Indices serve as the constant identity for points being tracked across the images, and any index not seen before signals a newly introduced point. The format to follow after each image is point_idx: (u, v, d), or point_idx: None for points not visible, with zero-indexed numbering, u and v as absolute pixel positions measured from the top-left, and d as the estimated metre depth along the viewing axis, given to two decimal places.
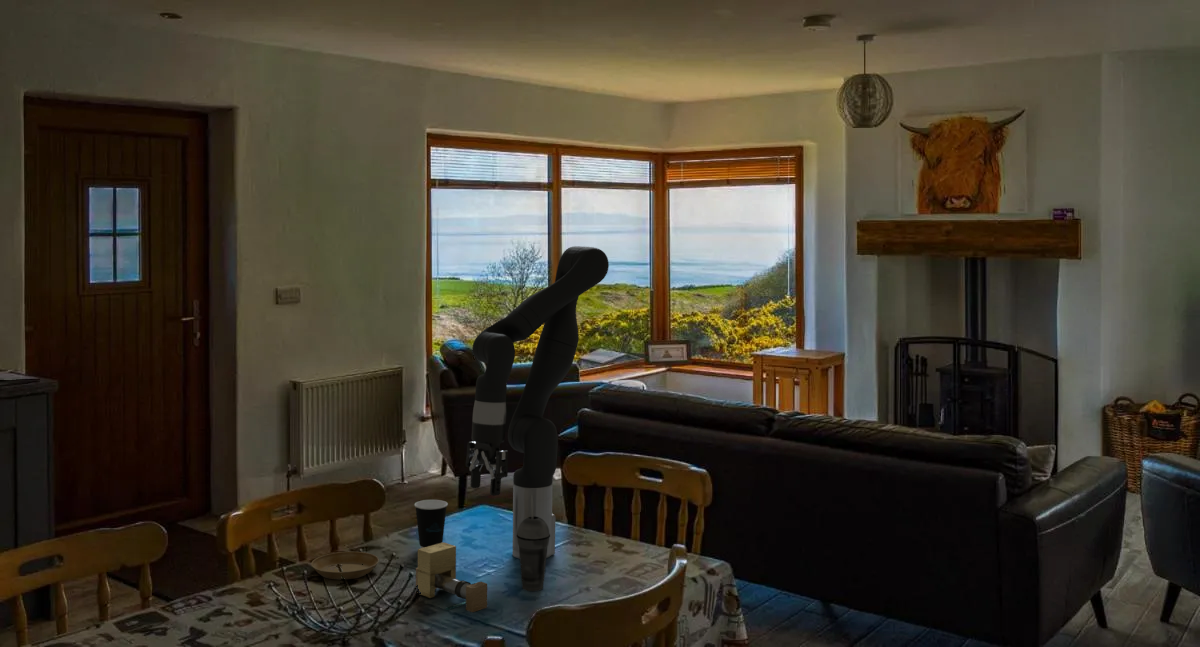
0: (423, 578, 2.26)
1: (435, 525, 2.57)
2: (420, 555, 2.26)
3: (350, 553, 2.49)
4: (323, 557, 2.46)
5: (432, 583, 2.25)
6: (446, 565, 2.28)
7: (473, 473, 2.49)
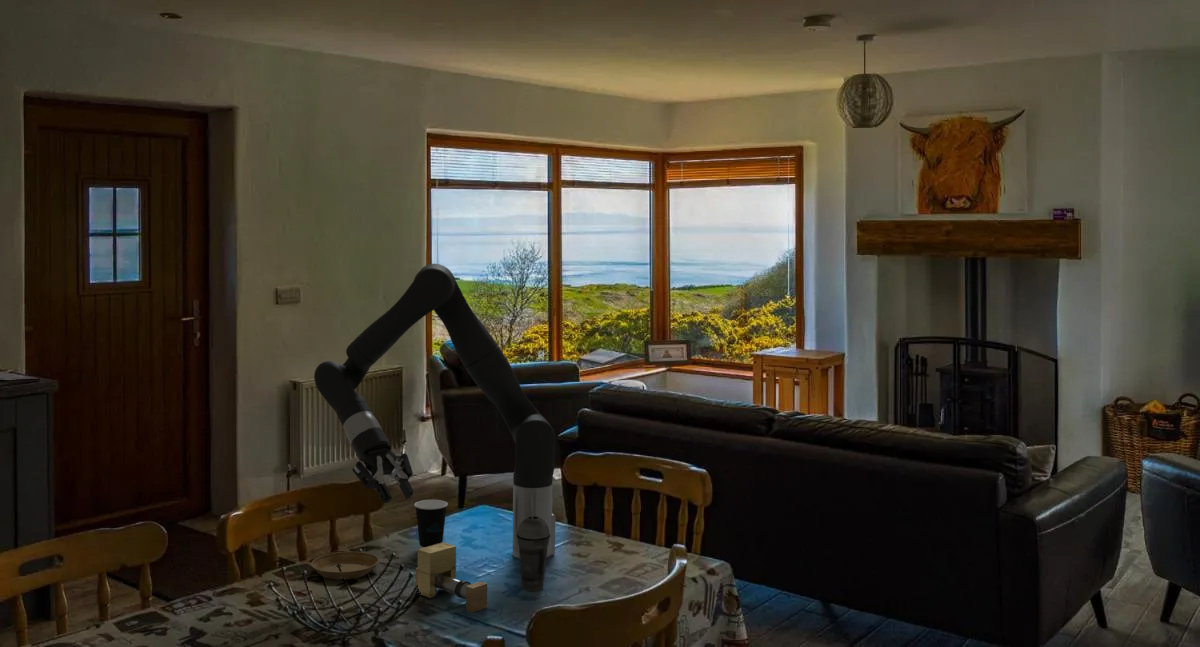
0: (423, 578, 2.26)
1: (435, 525, 2.57)
2: (420, 555, 2.26)
3: (350, 553, 2.49)
4: (323, 557, 2.46)
5: (432, 583, 2.25)
6: (446, 565, 2.28)
7: (400, 486, 2.39)
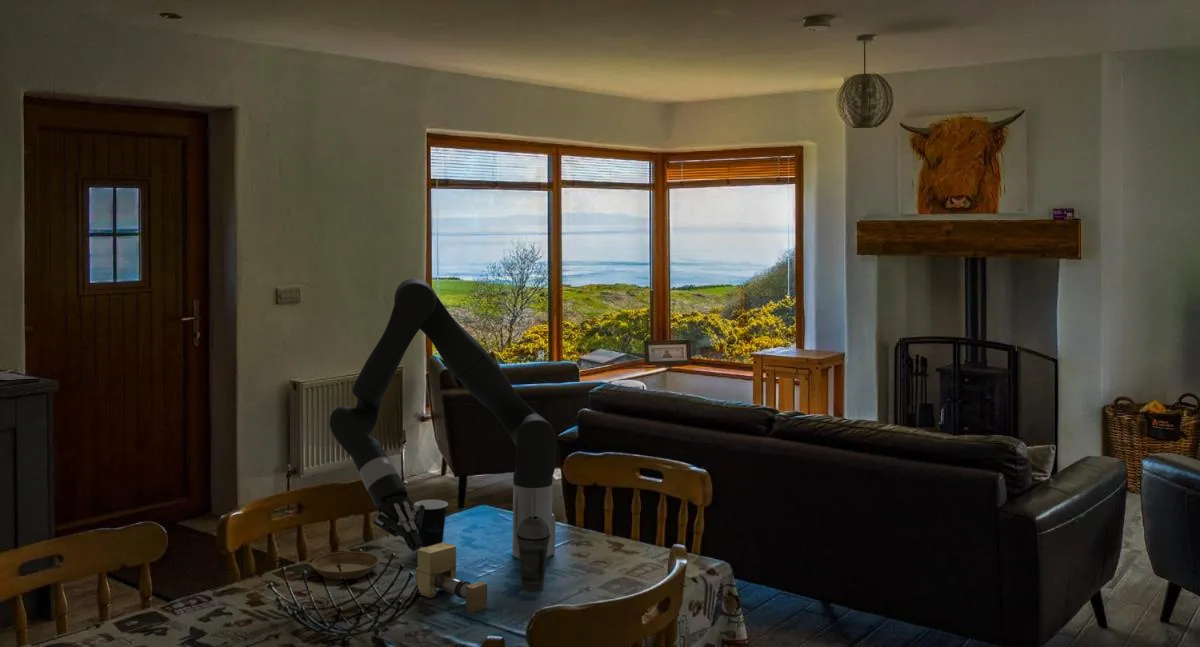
0: (423, 578, 2.26)
1: (435, 525, 2.57)
2: (420, 555, 2.26)
3: (350, 553, 2.49)
4: (323, 557, 2.46)
5: (432, 583, 2.25)
6: (446, 565, 2.28)
7: None
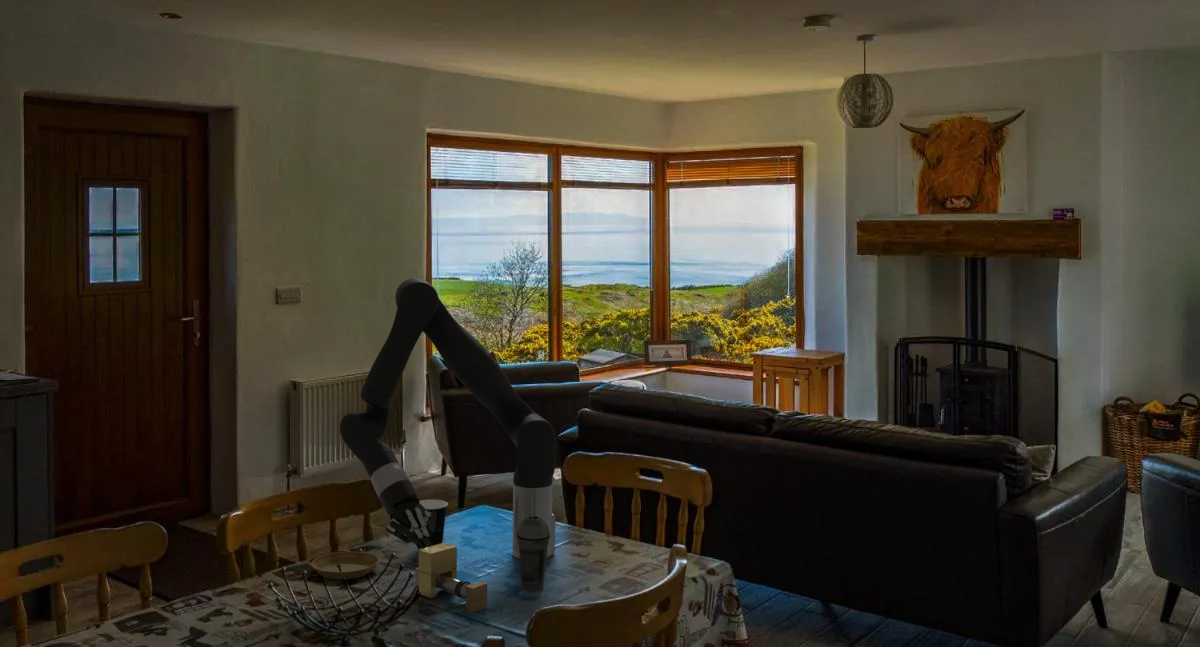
0: (424, 578, 2.26)
1: (435, 525, 2.57)
2: (421, 555, 2.26)
3: (350, 553, 2.49)
4: (323, 557, 2.46)
5: (433, 583, 2.25)
6: (447, 565, 2.27)
7: None
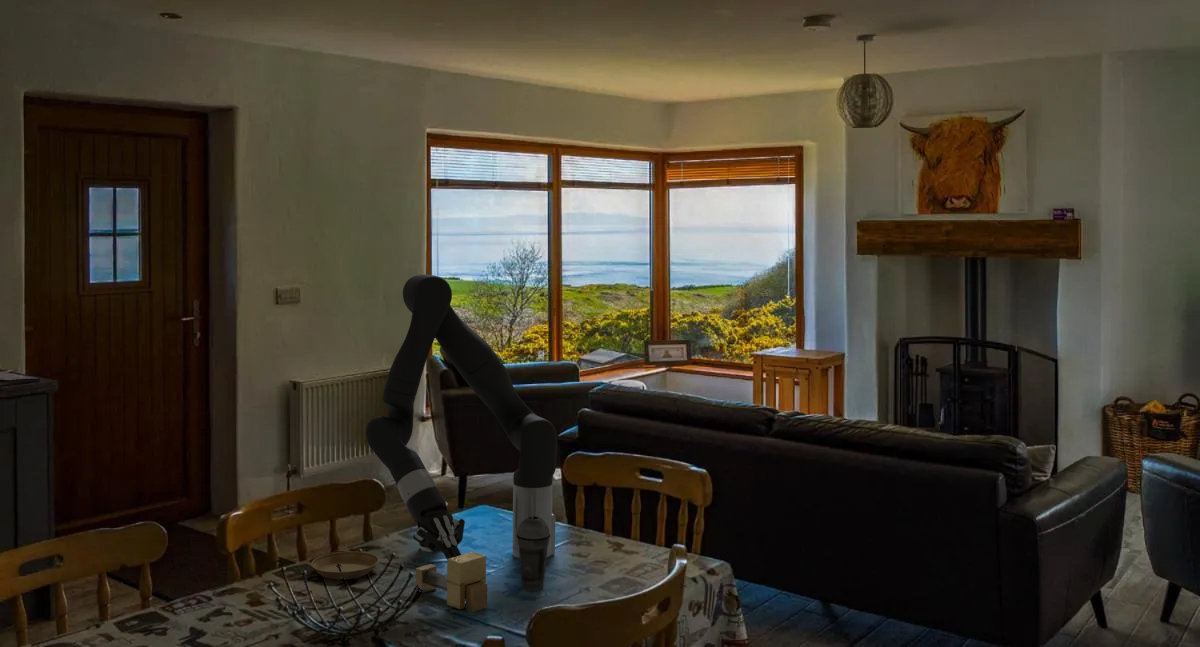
0: (453, 589, 2.20)
1: None
2: (450, 565, 2.20)
3: (350, 553, 2.49)
4: (323, 557, 2.46)
5: (462, 593, 2.19)
6: (476, 575, 2.21)
7: None
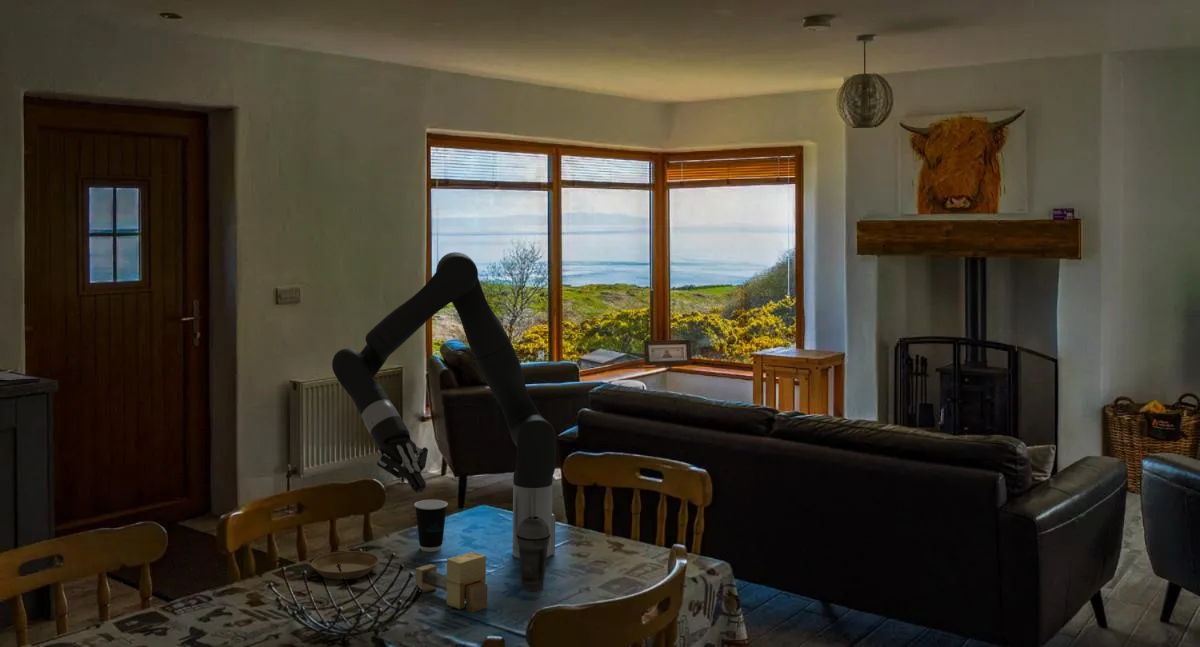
0: (452, 589, 2.20)
1: (435, 525, 2.57)
2: (449, 565, 2.20)
3: (350, 553, 2.49)
4: (323, 557, 2.46)
5: (462, 593, 2.19)
6: (476, 575, 2.21)
7: None
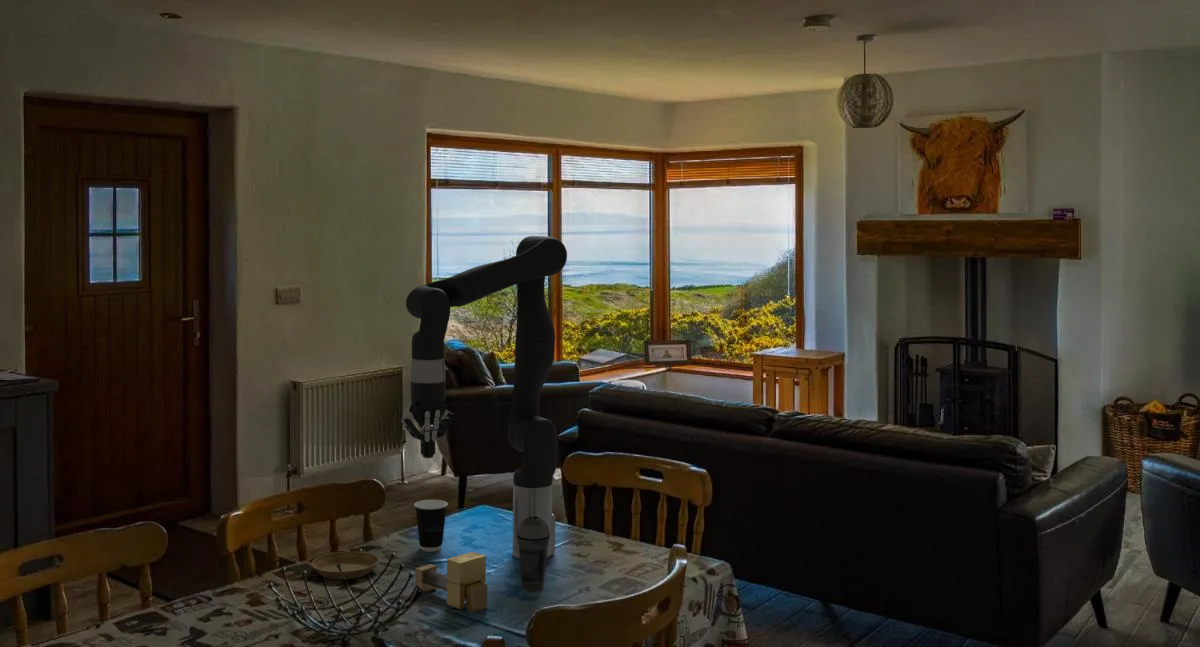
0: (452, 589, 2.20)
1: (435, 525, 2.57)
2: (449, 565, 2.20)
3: (350, 553, 2.49)
4: (323, 557, 2.46)
5: (462, 593, 2.19)
6: (476, 575, 2.21)
7: None
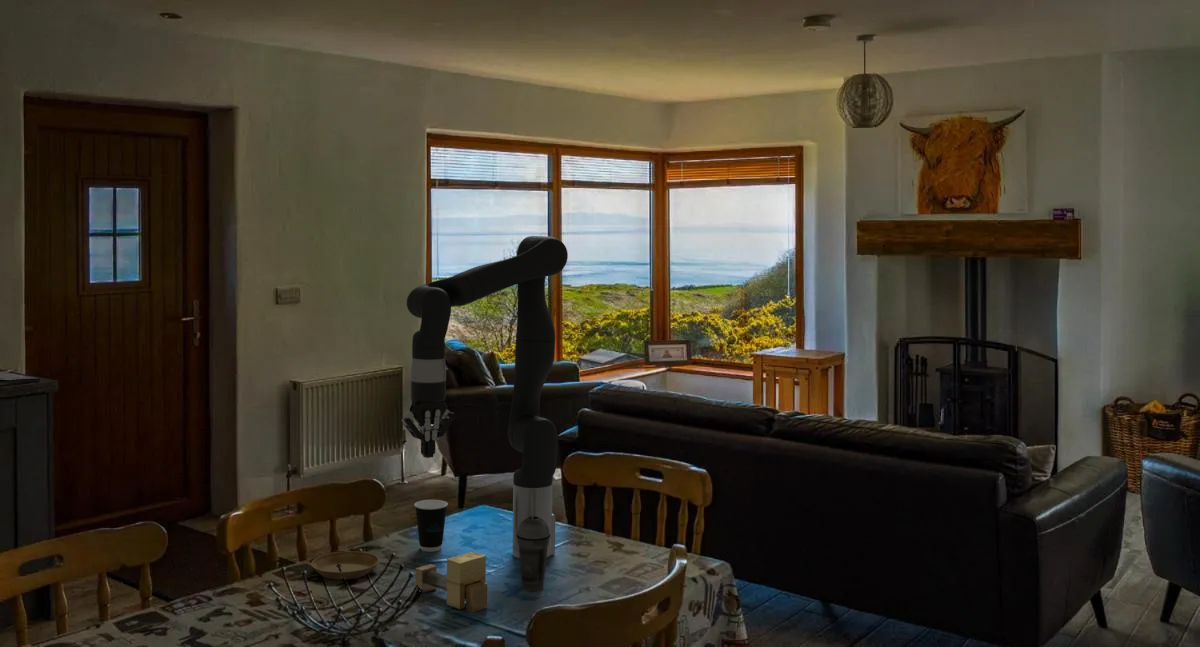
0: (452, 589, 2.20)
1: (435, 525, 2.57)
2: (449, 565, 2.20)
3: (350, 553, 2.49)
4: (323, 557, 2.46)
5: (462, 593, 2.19)
6: (476, 575, 2.21)
7: None
